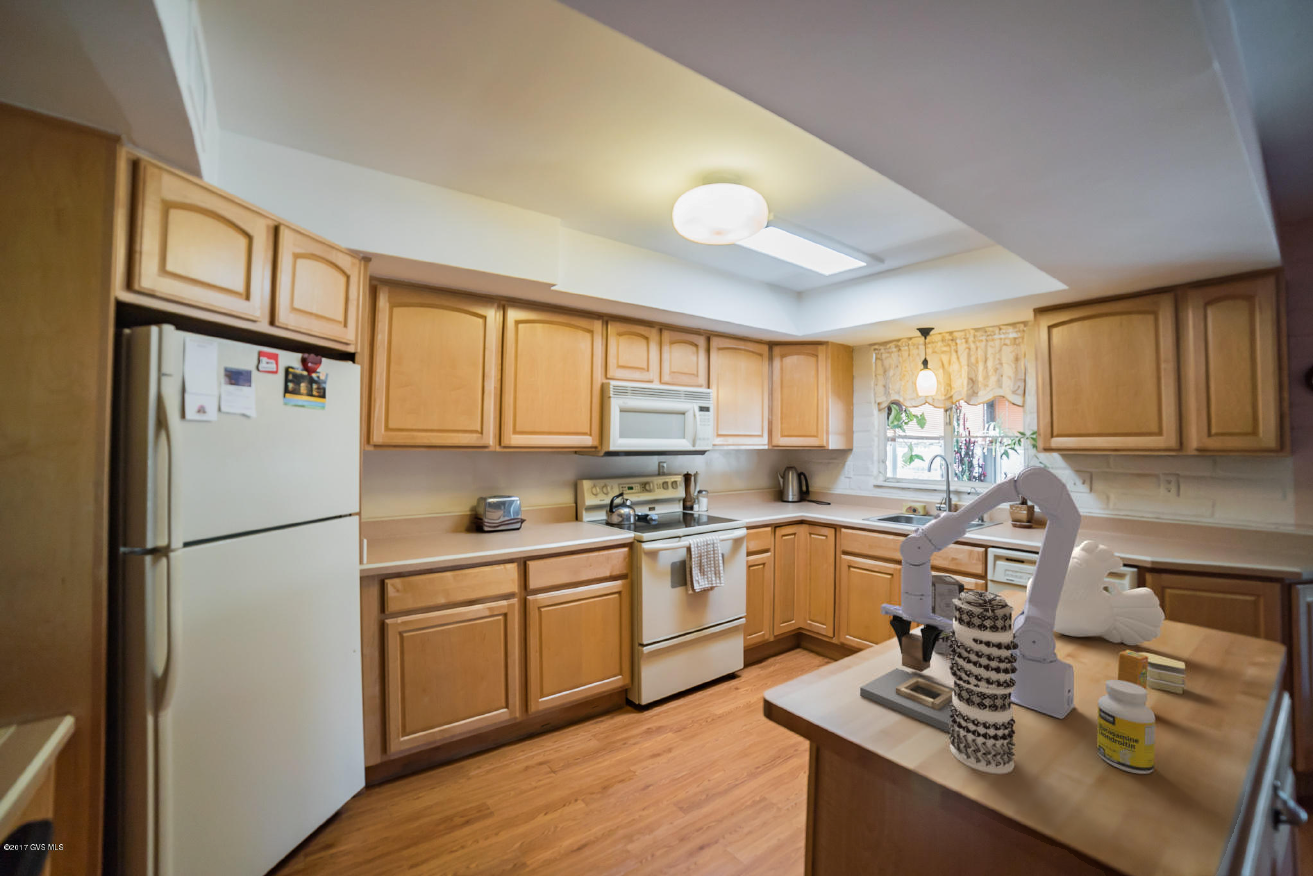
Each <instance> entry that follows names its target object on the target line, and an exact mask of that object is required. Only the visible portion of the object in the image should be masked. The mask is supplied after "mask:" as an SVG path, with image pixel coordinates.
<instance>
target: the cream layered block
mask: <svg viewBox="0 0 1313 876" xmlns="http://www.w3.org/2000/svg"><path fill="white" fill-rule="evenodd" d="M1139 653H1140V654H1143V655H1145V656H1147V657H1148V668H1147V685H1146V687H1148V688H1150V689H1151V688H1152V689H1156V690H1163V691H1168V692H1171V693H1172V692H1173V693H1177V694H1179V695H1183V688H1185V687H1186V682H1185V679H1183V677H1186V670H1185V669H1186V664H1185V662H1183V661H1179V660H1176V659H1172V658H1169V657H1164V656H1162V655H1157V654H1153V653H1149V652H1139Z"/></svg>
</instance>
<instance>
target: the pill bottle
mask: <svg viewBox="0 0 1313 876" xmlns="http://www.w3.org/2000/svg"><path fill="white" fill-rule="evenodd" d="M1105 691H1106V693H1107V694H1104V695H1102V696H1100V697H1099V699H1098V702H1097V744H1096V746H1097V748H1096V749H1097V753H1098V755H1099V757H1100V758H1101V759H1103V761H1105V762H1106V763H1108V764H1110V765H1111V766H1113V767H1116V768H1118V769H1120V770H1122V771H1125V772H1129V773H1133V774H1137V775H1138V774H1139V775H1146V774H1151V773H1152V772H1153V771H1154V768H1155V742H1156V741H1155V740H1156V716H1155V714H1154V713H1155V712H1153V710H1152V709H1151V708H1150V707H1149V706H1148V705H1147V704H1146V703H1145V702H1148V691H1147V689H1146V690H1145V689H1144V688H1142V687H1141V686H1138V685H1136V684H1133V683H1130V682H1126V681H1121V680H1118V679H1109V680H1106V681H1105Z"/></svg>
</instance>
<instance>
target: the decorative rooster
mask: <svg viewBox="0 0 1313 876" xmlns="http://www.w3.org/2000/svg"><path fill="white" fill-rule="evenodd" d="M1123 566H1124V563H1123V561H1122V559H1121V558H1120V557H1119V556H1116V553H1115V552H1114V551H1113V549H1111V548H1109V547H1108V546H1106V545H1102V544H1098V542H1095V541H1093V540H1084V541H1083V542H1082V543H1081V544H1080V545H1079V546H1077V547H1075V546H1074V548H1073V552H1072V556H1071V559H1070V563H1069V566H1068V570H1067V574H1066V577H1065V581H1064V585H1063V588H1062V592H1061V596H1060V599H1059V603H1058V606H1057V610H1056V618H1055V626H1054V630H1053V632H1054V631H1055V632H1057V633H1059V634H1062V635H1065V636H1070V637H1080V638H1081V637H1083V638H1084V637H1102V638H1104V639H1105V640H1107V641H1109V642H1111V643H1113V644H1120V643H1123V644H1125V645H1126V646H1137V645H1140V644H1143V643H1145V642H1151V641H1152V640H1153V639H1158V638H1159V637H1160V636H1161V634H1162V629H1161V627H1163V625H1164V620H1165V619H1166V617H1165V613H1164V611H1163V609H1162V608H1161V606H1160V600H1159V598H1158V596H1157V595H1156V594H1155V593H1154V591H1153V589H1151V588H1148V587H1139V588H1134V589H1133V588H1132V589H1129V590H1124V591H1122V589H1121V587H1120V586H1119V585H1118V584H1117V583H1116V582H1113V581H1110V580H1105V578H1107V576H1108V574H1109V573H1111V572H1116V571H1119V570H1121V569H1122V568H1123ZM1032 578H1033V576H1032V577H1031V578H1029V580H1028V582H1027V584H1026V585H1027V586H1026V597H1027V596H1028V593H1029V589H1030V585H1031V581H1032ZM1105 587H1107V588H1108V587H1109V588H1111V589H1112V590H1113V591H1114V593H1112V594H1111V593H1109V592H1107V591H1106V590H1104V588H1105Z"/></svg>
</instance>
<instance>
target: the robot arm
mask: <svg viewBox="0 0 1313 876" xmlns="http://www.w3.org/2000/svg"><path fill="white" fill-rule="evenodd" d="M1020 497H1023V498H1025V500H1027V501H1028V502H1030V503H1031V504H1033V505H1035V506H1036V507H1037V508H1038V510H1039V511H1040V512H1041V513H1042V515H1043V516H1044V517H1045V518H1046V519H1047V522H1046V526H1045V530H1044V533H1043V537H1042V540H1041V545H1040V549H1039V552H1038V556H1037V558H1036V559H1037V560H1036V563H1035V567H1034V571H1033V575H1032V577H1033V578H1032V577H1031V578H1032V581H1031V585H1030V589H1029V593H1028V596H1027V595H1026V599H1025V601H1024V604H1023V607H1022V610H1021V611H1020V613H1019V614H1017V615H1016V616H1015V617H1014V619H1013V620H1012V629H1013V633H1014V634H1015V635H1016V636H1017V638H1016V639H1014V642H1015V643H1017V644H1018V646H1019V647H1018V648H1017V649H1016V650H1013V651H1012V650H1011V654H1013V655H1014V656H1016V657H1017V661H1016V662H1015V663H1012V664H1013V665H1014V666H1015V667H1016V668H1017V671H1016V672H1015V673H1014V674H1010V675H1011V678H1013V679H1014V680H1015V682H1016V684H1015V689H1014V690H1013V692H1011V703H1014V704H1017V705H1020V706H1022V707H1024V708H1028V709H1031V710H1034V711H1036V712H1040V713H1042V714H1045V715H1048V716H1051V717H1054V718H1057V719H1060V720H1063V719H1064V718H1065V717H1066V716H1067V715H1068V714H1069V713H1070V712H1071V710H1073V709H1074V707H1075V703H1074V700H1075V699H1074V697H1075V690H1074V688H1075V685H1074V684H1075V673H1074V672H1075V671H1074V667H1073V665H1072V664H1071V663H1068V662H1065V661H1063V660H1061V659H1059V658H1058V654H1057V652H1056V649H1057V646H1056V645H1057V644H1056V640H1055V636H1054V626H1055V618H1056V610H1057V606H1058V603H1059V599H1060V596H1061V592H1062V588H1063V585H1064V581H1065V577H1066V574H1067V570H1068V566H1069V563H1070V559H1071V556H1072V552H1073V548H1074V547H1075V544H1076V540H1077V537H1078V533H1079V530H1080V526H1081V523H1082V514H1081V512H1080V511H1079V508H1078V507H1077V505H1076V503H1075V501H1074V499H1073V497H1072V495H1071V493H1070V491H1069V489H1068V487H1067V485H1066V484H1065V482H1064V481H1063V480H1062V479H1060V478H1059V477H1058V476H1057V475H1056V474H1055V473H1054V472H1052V471H1051V470H1050V469H1048V468H1046V467H1045V466H1044V467H1043V466H1040V465H1039V466H1038V465H1032V466H1027V467H1024V468H1023V469H1022V470H1021V471H1019V473H1018V474H1017V475H1016V473H1014V474H1012V475H1010V476H1007V477H1006V478H1004V479H1002V480H999V481H998V482H997V483H994V484H993V485H992V486H990V487H989V488H988V489H987V490H984V492H982V493H981V494H979V495H978V496H976V498H974V499H973V500H971V501H970V502H968V503H967V504H965V505H964V506H963V507H961V508H960V509H959V510H957V511H956V512H954V511H953V512H951V511H943V512H941V513H940V512H935V514H933V515H932V518H933V519H931V520H930V521H929V522H928V523H926V524H924V525H923V526H921V527H915V528H914V529H913V532H914V533H911V534H909V535H908V536H906V537H905V538H904V539H903V540H902V541H901V543H900V546H899V554H900V556H901V558H902V559H901V569H900V570H901V574H900V575H901V580H900V581H901V582H900V583H901V586H900V587H901V588H900V589H901V590H900V591H901V592H900V593H901V596H900V598H901V599H900V601H901V602H900V606H899V605H893V604H888V603H883V604H881V605H880V614H881V615H884V616H887V615H888V616H891V617H892V618H891V619H890V620H889V625H890V626H891V627H892V629H893V632H894V634H895V636H896V639H897V642H898V646H899V649H900V654H901V655H902V637H903V636H905V635H907V634H910V633H911V627H912V623H916V624H919V625H923V627H921V628H920V635H921V636H922V641H923V661H924V662H929V661H930V662H931V661H932V658H933V654H934V647H935V645H936V642H937V640H938V638H939V637H940V635H941V634H942V632H943V630H945V631H946V632H948V633H950V631H951V630H953V629H954V628H953V621H951V620H947V619H945V618H942V617H940V616H937V615H934V614H932V575H933V574H932V572H933V571H932V569H931V566H932V565H931V564H932V561H931V560H932V559H931V557H932V556H933V554H934V553H939V552H941V551H943V550H944V549H946V548H948V546H950V545H952V544H954V543H955V542H957V541H958V540H959V539H961V538H963V537H964V536H966V535H967V526H968V525H969V524H971V523H973V522H974V521H976V520H977V519H979V518H980V517H983V515H985V514H987V513H989V512H990V511H992V510H994V509H995V508H997V507H999V506H1000V505H1002V504H1005V503H1007V504H1009V503H1019V502H1020V503H1021V498H1020ZM924 625H926V627H924Z"/></svg>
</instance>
